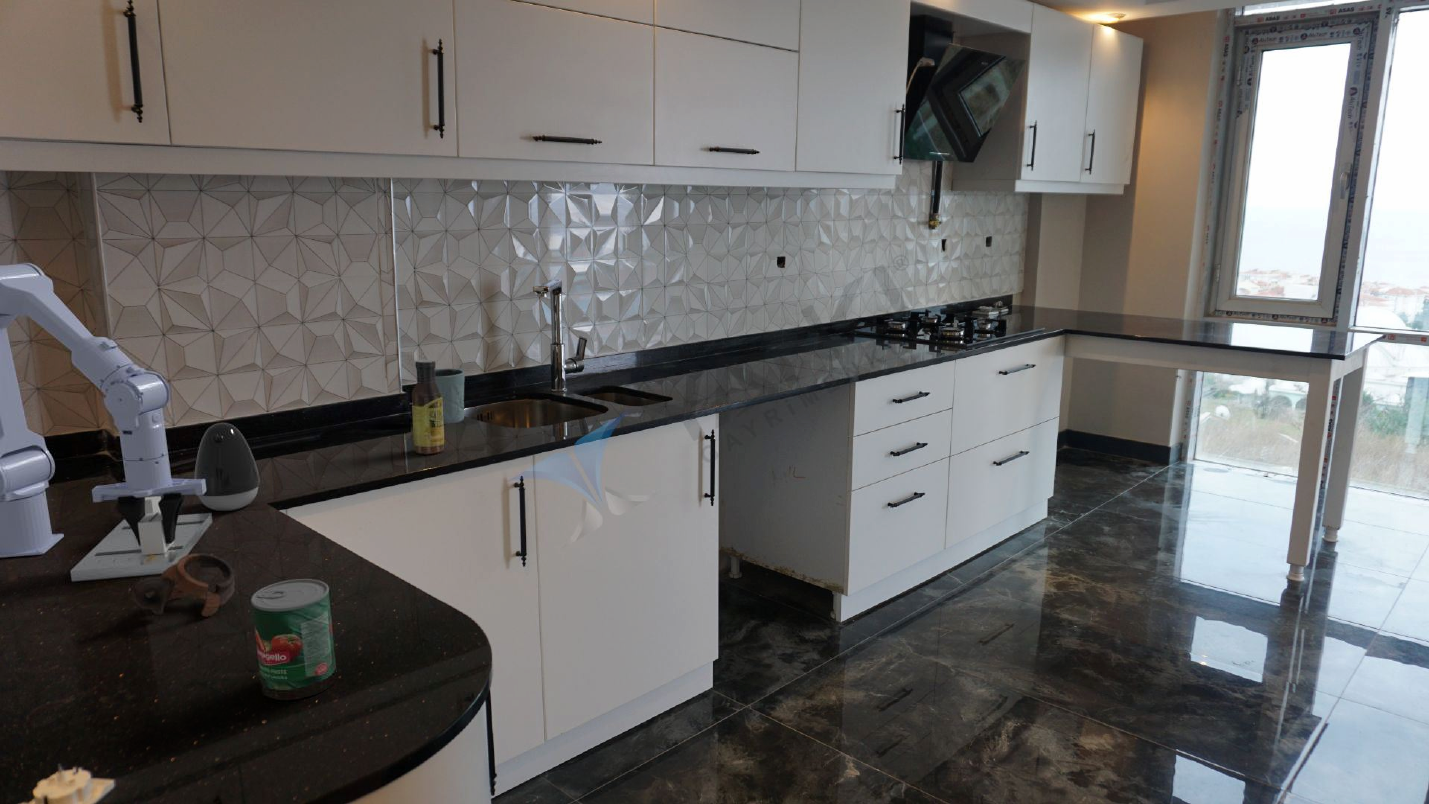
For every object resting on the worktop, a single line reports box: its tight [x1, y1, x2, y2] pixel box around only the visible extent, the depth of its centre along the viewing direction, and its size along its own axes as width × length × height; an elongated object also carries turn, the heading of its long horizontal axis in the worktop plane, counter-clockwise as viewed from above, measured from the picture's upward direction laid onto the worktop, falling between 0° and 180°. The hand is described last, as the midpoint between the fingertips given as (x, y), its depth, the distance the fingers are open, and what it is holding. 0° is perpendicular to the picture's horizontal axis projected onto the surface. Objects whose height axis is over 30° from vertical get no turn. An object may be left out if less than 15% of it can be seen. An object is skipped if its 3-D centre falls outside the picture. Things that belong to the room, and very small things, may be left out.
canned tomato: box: [250, 578, 337, 690], centre depth 103 cm, size 8×8×11 cm
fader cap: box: [138, 512, 173, 555], centre depth 138 cm, size 3×4×5 cm
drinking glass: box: [435, 367, 465, 425], centre depth 225 cm, size 10×10×12 cm
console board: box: [70, 512, 213, 582], centre depth 143 cm, size 13×22×2 cm, turn 15°
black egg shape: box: [194, 422, 261, 512], centre depth 161 cm, size 10×10×15 cm
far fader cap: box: [145, 496, 162, 515], centre depth 148 cm, size 3×4×5 cm
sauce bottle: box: [411, 359, 445, 455], centre depth 197 cm, size 6×6×20 cm
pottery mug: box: [131, 552, 236, 617], centre depth 122 cm, size 12×10×8 cm
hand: (157, 542), depth 139 cm, fingers closed on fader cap, 3 cm apart
